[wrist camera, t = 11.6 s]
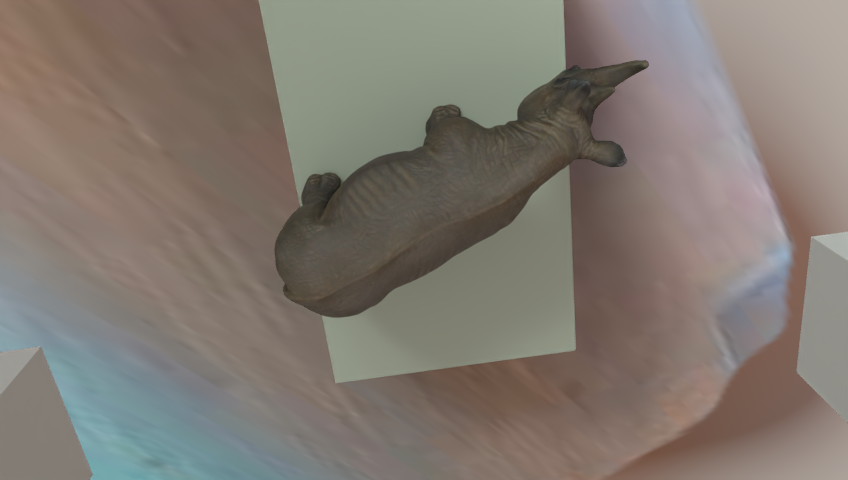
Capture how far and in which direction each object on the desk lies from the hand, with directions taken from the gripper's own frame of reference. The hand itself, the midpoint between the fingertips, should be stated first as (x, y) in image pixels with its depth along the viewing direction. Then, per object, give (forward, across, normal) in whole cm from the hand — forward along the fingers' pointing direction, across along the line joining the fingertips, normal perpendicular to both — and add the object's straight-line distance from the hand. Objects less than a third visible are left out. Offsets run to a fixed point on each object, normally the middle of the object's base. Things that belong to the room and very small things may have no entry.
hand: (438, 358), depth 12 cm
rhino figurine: (+14, +2, 0) cm, 14 cm away
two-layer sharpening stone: (+21, +1, 0) cm, 21 cm away
